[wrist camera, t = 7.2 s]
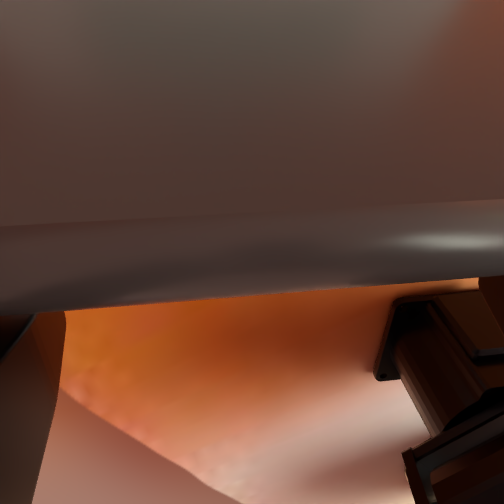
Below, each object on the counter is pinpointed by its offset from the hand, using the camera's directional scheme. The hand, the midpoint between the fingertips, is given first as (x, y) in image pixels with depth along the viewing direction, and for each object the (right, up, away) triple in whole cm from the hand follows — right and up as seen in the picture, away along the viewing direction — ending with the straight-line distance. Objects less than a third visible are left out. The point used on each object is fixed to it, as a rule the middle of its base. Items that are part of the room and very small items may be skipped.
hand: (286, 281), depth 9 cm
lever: (-1, +9, +3) cm, 9 cm away
